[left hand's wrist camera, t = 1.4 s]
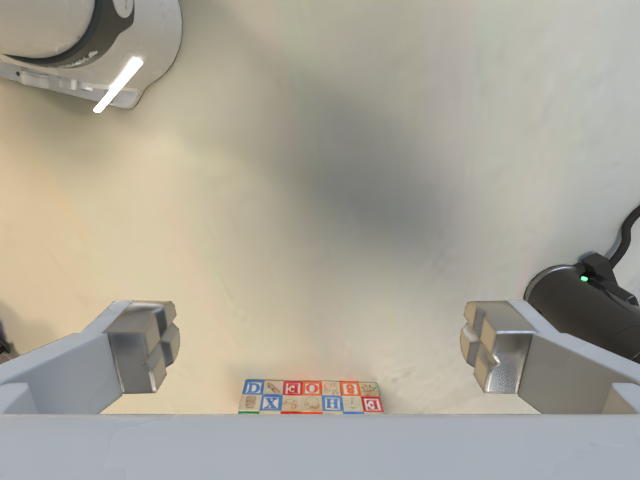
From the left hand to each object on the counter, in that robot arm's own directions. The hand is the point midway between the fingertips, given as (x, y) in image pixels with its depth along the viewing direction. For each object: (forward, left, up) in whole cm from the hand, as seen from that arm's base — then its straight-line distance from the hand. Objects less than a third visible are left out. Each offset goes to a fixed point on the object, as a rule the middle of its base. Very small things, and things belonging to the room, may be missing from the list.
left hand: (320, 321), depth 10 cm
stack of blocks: (+2, -39, -37) cm, 54 cm away
